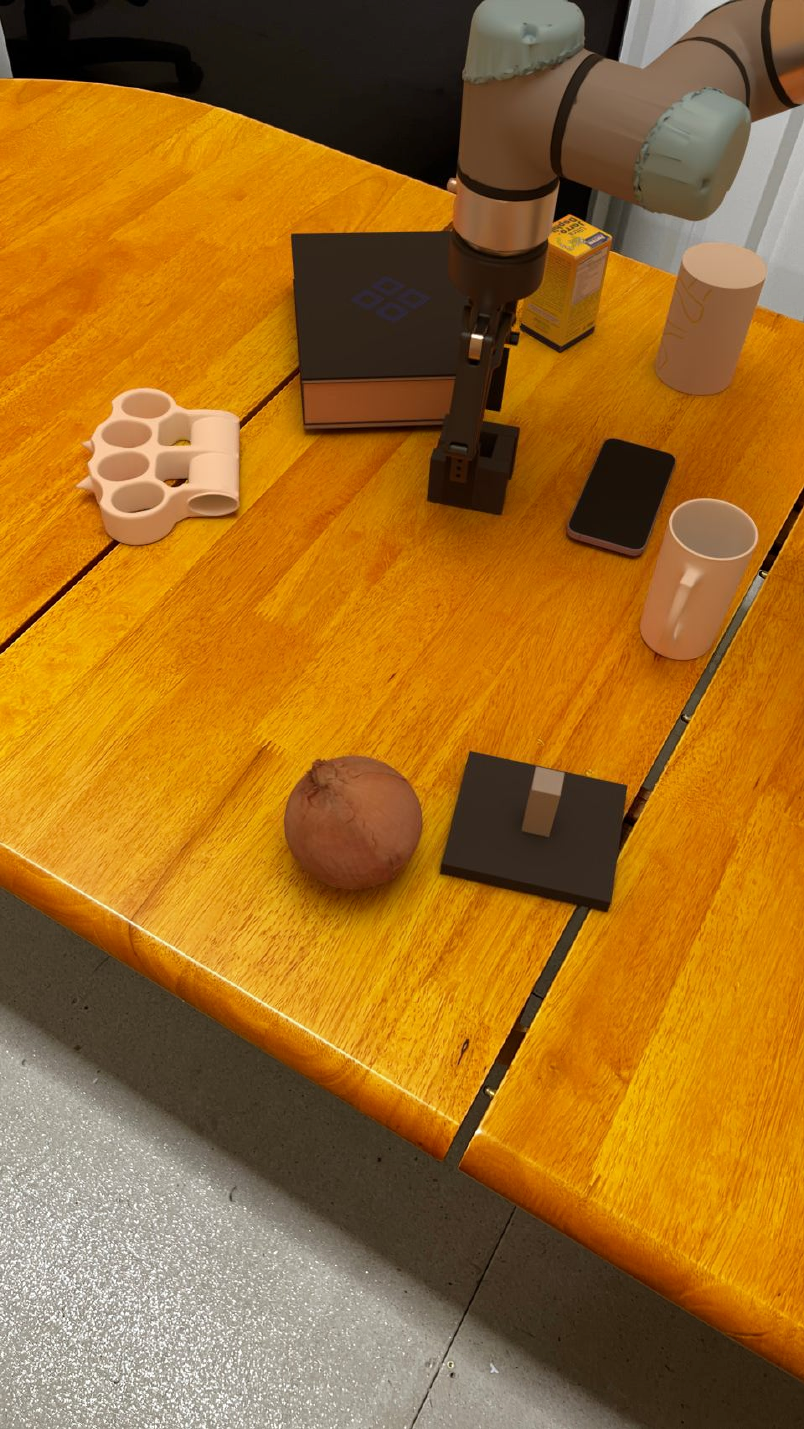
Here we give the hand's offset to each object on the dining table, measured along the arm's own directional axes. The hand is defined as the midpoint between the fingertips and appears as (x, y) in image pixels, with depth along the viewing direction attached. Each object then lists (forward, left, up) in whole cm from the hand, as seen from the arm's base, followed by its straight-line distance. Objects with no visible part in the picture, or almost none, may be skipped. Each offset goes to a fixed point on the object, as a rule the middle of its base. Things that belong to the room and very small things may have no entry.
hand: (472, 452), depth 100 cm
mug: (-20, +15, -4) cm, 26 cm away
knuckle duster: (+28, +7, -4) cm, 29 cm away
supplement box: (-4, -27, -4) cm, 28 cm away
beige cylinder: (-19, -24, -4) cm, 31 cm away
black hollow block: (0, 0, -4) cm, 4 cm away
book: (+13, -17, -4) cm, 22 cm away
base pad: (-12, +36, -4) cm, 38 cm away
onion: (0, +41, -4) cm, 41 cm away
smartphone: (-14, -2, -4) cm, 15 cm away
